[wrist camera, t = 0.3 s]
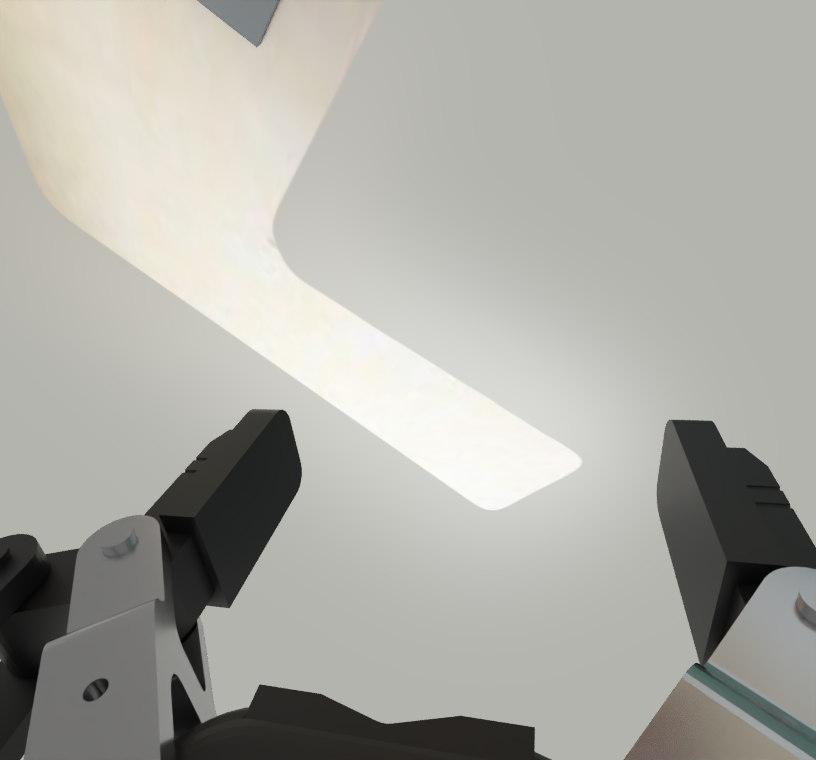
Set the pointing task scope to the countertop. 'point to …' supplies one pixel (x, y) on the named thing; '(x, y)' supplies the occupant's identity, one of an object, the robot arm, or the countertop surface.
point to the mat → (244, 16)
